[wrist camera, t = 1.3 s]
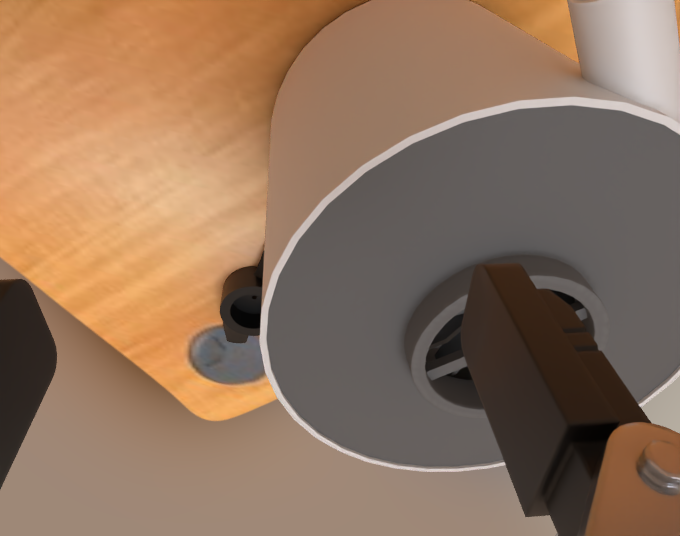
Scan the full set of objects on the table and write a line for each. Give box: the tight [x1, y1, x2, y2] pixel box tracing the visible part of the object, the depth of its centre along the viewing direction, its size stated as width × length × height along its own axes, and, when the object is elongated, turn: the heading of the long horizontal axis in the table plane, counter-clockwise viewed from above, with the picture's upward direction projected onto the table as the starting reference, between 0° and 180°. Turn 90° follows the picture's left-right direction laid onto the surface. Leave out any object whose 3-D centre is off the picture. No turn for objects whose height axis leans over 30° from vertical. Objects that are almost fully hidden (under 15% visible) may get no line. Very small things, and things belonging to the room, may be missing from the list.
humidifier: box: [260, 0, 680, 472], centre depth 31 cm, size 22×21×23 cm
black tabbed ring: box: [220, 251, 264, 343], centre depth 47 cm, size 8×10×3 cm
